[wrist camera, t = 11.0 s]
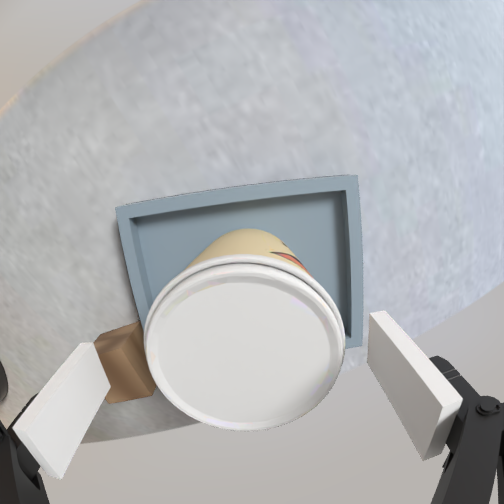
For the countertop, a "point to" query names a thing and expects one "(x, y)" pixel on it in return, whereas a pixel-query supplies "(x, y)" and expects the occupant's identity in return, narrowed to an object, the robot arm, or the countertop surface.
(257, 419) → the coffee cup
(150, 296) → the collection tray
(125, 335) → the walnut block
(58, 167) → the countertop surface
